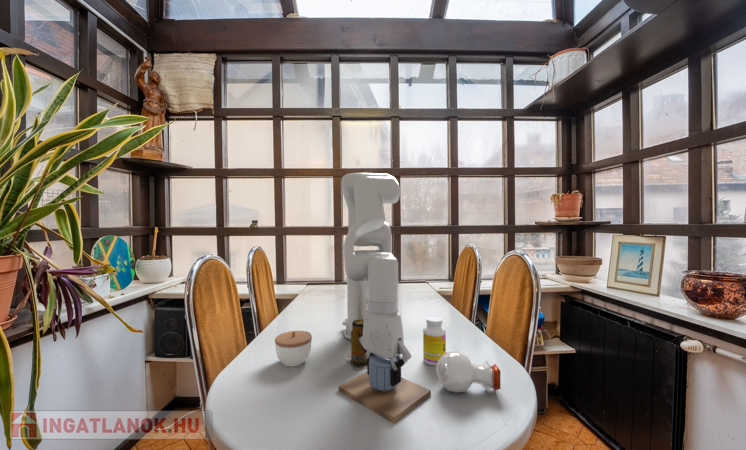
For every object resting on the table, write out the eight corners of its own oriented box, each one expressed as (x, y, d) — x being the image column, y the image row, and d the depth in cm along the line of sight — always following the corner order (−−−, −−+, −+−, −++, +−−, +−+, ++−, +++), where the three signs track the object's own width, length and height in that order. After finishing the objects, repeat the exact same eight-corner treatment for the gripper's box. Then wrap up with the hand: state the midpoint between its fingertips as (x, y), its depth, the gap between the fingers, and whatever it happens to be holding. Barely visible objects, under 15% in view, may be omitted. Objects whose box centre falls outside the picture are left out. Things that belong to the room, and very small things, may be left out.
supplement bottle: (446, 367, 88) (445, 323, 88) (422, 365, 89) (422, 321, 89) (445, 357, 95) (445, 316, 94) (423, 355, 96) (423, 315, 96)
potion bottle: (432, 391, 78) (491, 400, 77) (439, 386, 70) (505, 396, 69) (432, 353, 83) (488, 361, 82) (439, 344, 75) (501, 353, 74)
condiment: (366, 354, 97) (366, 316, 97) (378, 365, 90) (378, 324, 90) (345, 358, 94) (345, 320, 94) (356, 370, 87) (355, 328, 87)
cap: (363, 382, 75) (363, 358, 75) (382, 372, 80) (382, 349, 80) (385, 393, 70) (384, 367, 70) (403, 381, 75) (403, 357, 75)
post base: (338, 390, 76) (338, 368, 76) (376, 370, 87) (376, 350, 86) (394, 423, 64) (393, 396, 64) (430, 395, 74) (430, 371, 74)
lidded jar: (319, 361, 92) (318, 330, 92) (287, 374, 85) (287, 341, 85) (299, 351, 100) (298, 323, 100) (268, 362, 92) (268, 331, 92)
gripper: (348, 303, 78) (348, 372, 79) (401, 317, 66) (402, 398, 67) (368, 297, 84) (369, 362, 84) (421, 309, 72) (421, 385, 72)
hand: (383, 377), depth 75 cm, fingers closed on cap, 7 cm apart
